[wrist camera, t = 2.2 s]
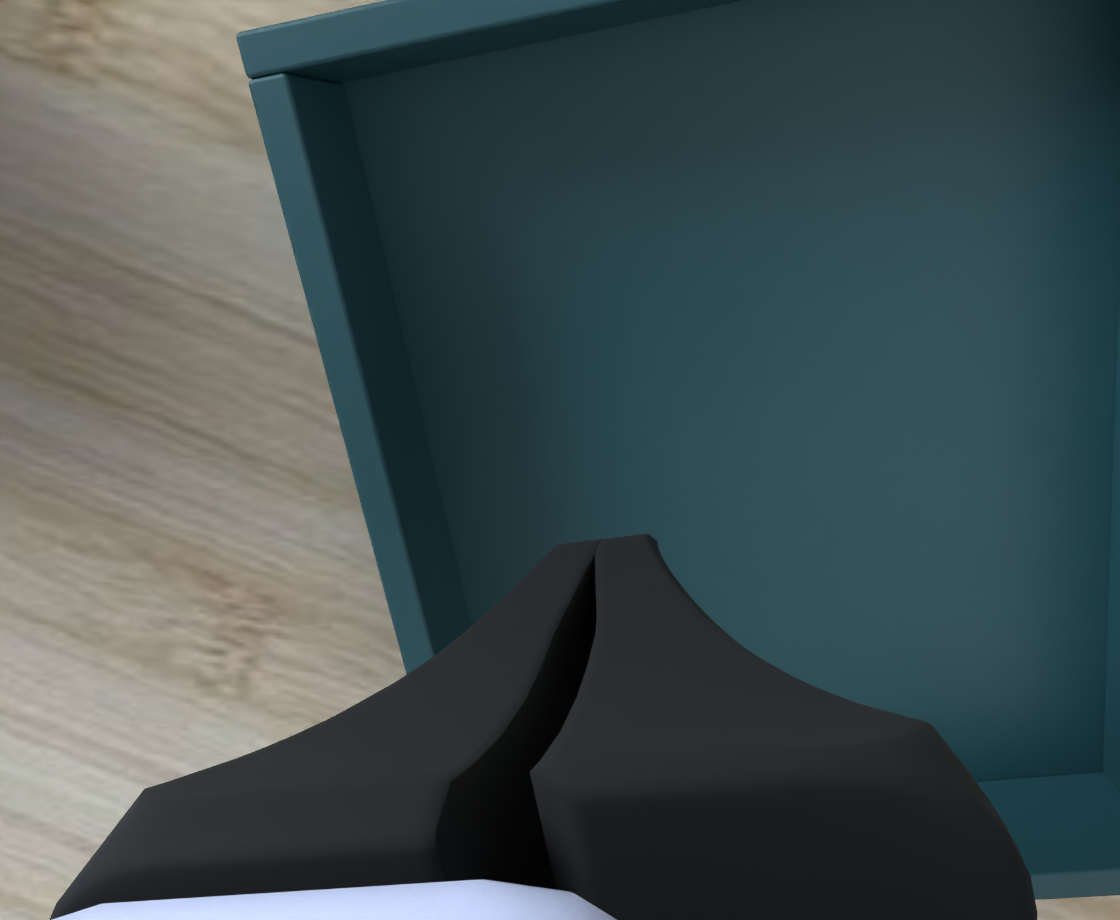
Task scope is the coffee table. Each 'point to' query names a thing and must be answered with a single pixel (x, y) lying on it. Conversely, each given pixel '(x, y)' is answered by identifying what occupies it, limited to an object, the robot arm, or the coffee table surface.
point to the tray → (745, 338)
